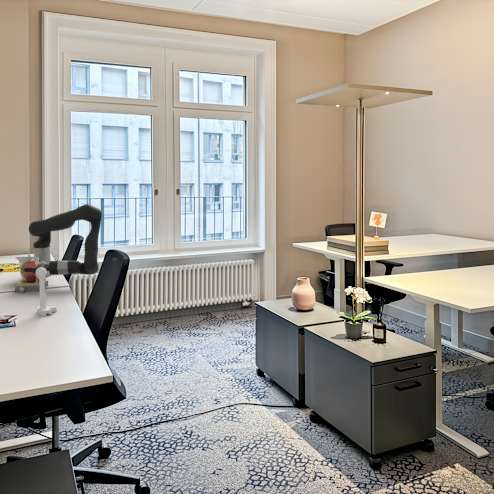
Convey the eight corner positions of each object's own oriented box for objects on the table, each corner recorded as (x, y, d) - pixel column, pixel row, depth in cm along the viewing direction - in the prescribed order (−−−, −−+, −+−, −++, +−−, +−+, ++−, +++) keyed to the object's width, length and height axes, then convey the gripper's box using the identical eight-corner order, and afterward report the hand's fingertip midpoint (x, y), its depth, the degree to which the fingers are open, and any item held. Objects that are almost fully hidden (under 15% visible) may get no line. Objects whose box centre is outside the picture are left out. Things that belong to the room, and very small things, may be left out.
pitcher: (45, 282, 290) (43, 258, 289) (12, 282, 289) (11, 258, 288) (51, 278, 301) (50, 255, 300) (20, 279, 300) (18, 255, 299)
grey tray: (21, 287, 277) (20, 279, 276) (48, 285, 280) (47, 278, 279) (13, 293, 261) (12, 285, 261) (42, 292, 264) (42, 284, 264)
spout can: (27, 281, 274) (25, 253, 272) (38, 280, 275) (36, 253, 273) (25, 283, 268) (23, 255, 266) (36, 282, 269) (34, 254, 267)
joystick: (35, 311, 225) (33, 266, 222) (53, 308, 229) (51, 264, 226) (40, 316, 216) (37, 269, 213) (59, 314, 220) (56, 268, 217)
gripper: (61, 258, 280) (28, 260, 277) (56, 262, 266) (21, 264, 263) (62, 272, 281) (29, 273, 278) (57, 277, 267) (23, 278, 264)
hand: (25, 269), depth 270 cm, fingers closed on spout can, 5 cm apart
